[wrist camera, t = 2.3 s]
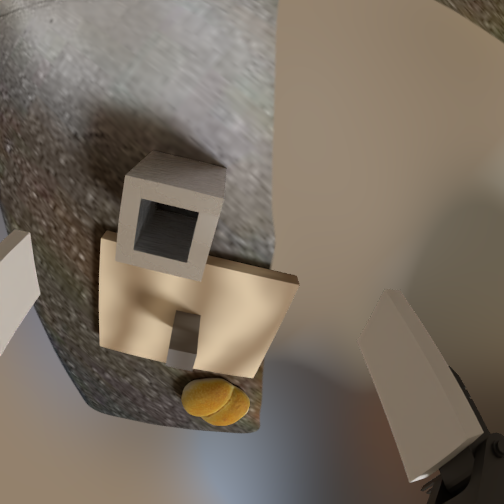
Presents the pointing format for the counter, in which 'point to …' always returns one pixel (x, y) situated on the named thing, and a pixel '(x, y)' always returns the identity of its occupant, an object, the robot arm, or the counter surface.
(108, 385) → the counter surface
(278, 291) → the block
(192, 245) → the hollow square tube
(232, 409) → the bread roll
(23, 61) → the counter surface
